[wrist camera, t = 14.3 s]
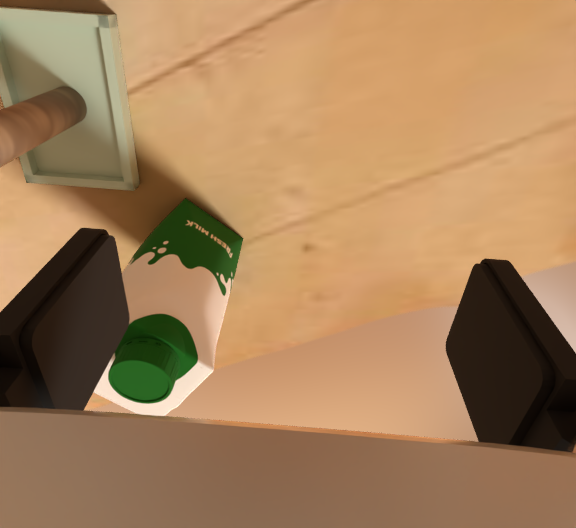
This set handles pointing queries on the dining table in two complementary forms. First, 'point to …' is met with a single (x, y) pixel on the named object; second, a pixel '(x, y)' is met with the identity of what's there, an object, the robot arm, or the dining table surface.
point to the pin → (38, 121)
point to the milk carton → (172, 312)
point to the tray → (81, 77)
